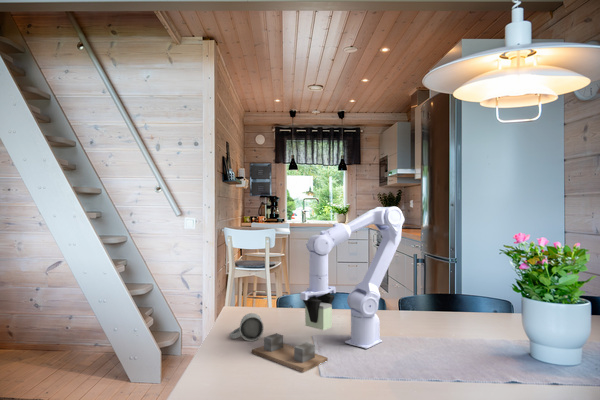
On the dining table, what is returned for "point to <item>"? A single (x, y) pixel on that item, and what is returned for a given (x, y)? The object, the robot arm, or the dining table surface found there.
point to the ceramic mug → (249, 328)
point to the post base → (289, 353)
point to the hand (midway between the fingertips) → (318, 320)
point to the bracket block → (320, 317)
